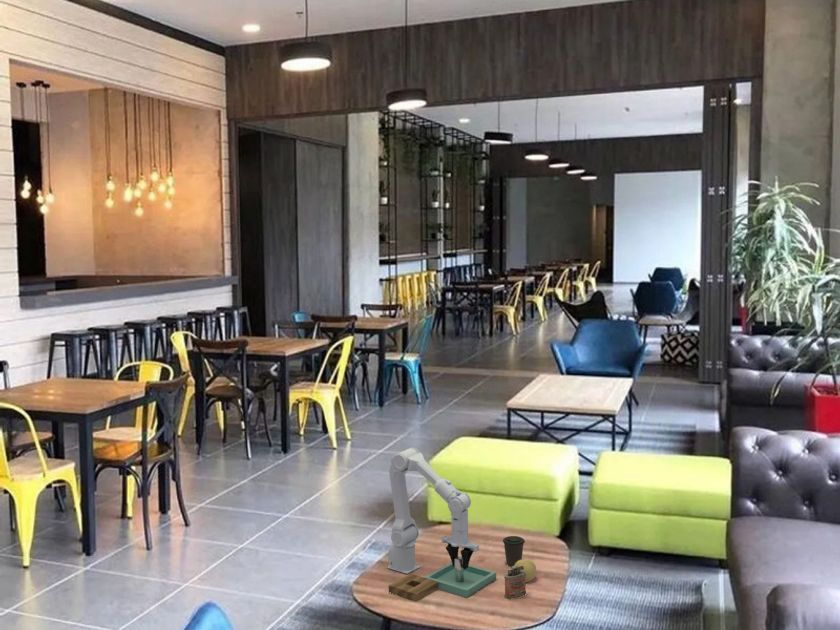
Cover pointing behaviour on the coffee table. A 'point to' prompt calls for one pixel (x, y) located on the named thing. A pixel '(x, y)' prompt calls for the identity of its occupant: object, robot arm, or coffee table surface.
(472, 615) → the coffee table surface
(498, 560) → the coffee table surface
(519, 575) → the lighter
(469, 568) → the tray
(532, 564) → the apple
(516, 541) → the coffee cup
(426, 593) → the pin block
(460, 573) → the pin
